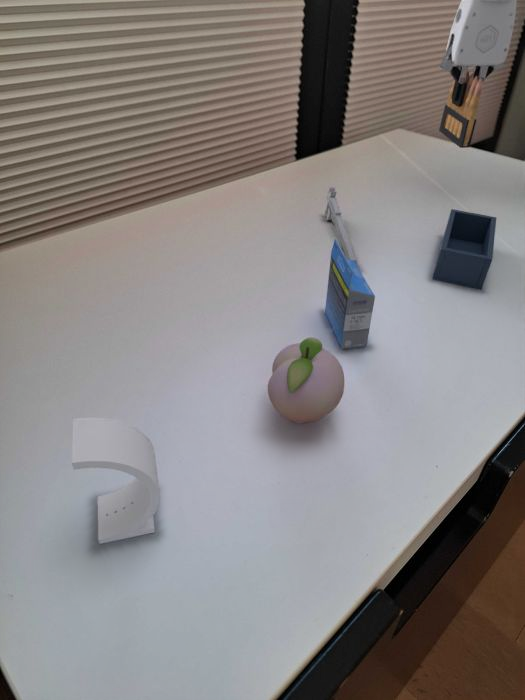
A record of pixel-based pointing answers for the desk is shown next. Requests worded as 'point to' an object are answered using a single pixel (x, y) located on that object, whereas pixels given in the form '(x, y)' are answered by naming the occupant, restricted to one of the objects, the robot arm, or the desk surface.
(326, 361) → the decorative fruit
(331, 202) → the caliper
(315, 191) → the desk surface
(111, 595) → the desk surface
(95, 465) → the headphone stand
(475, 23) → the robot arm
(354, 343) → the label tape box
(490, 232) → the desk tidy
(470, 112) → the ammunition clip
